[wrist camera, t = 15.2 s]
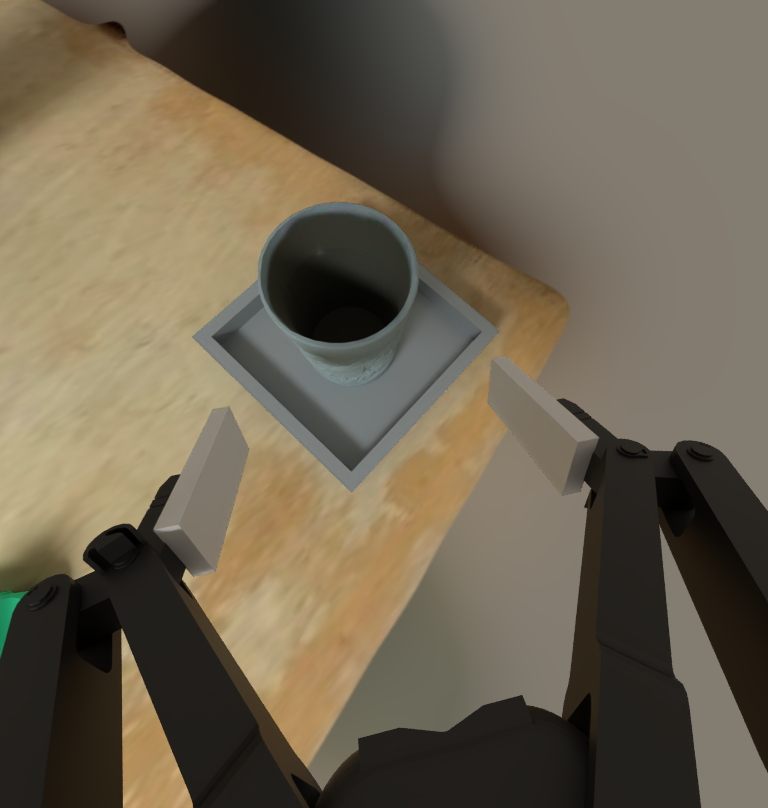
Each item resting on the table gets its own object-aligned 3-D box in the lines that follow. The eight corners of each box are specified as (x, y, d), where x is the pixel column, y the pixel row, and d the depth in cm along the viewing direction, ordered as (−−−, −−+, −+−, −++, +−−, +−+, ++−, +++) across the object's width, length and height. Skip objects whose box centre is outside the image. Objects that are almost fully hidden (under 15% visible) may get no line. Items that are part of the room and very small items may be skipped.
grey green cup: (352, 415, 30) (340, 382, 18) (276, 345, 31) (219, 271, 19) (422, 341, 32) (453, 267, 20) (348, 277, 33) (336, 171, 21)
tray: (208, 349, 32) (191, 336, 29) (348, 224, 35) (346, 202, 32) (353, 490, 30) (351, 492, 27) (488, 343, 33) (499, 331, 30)
